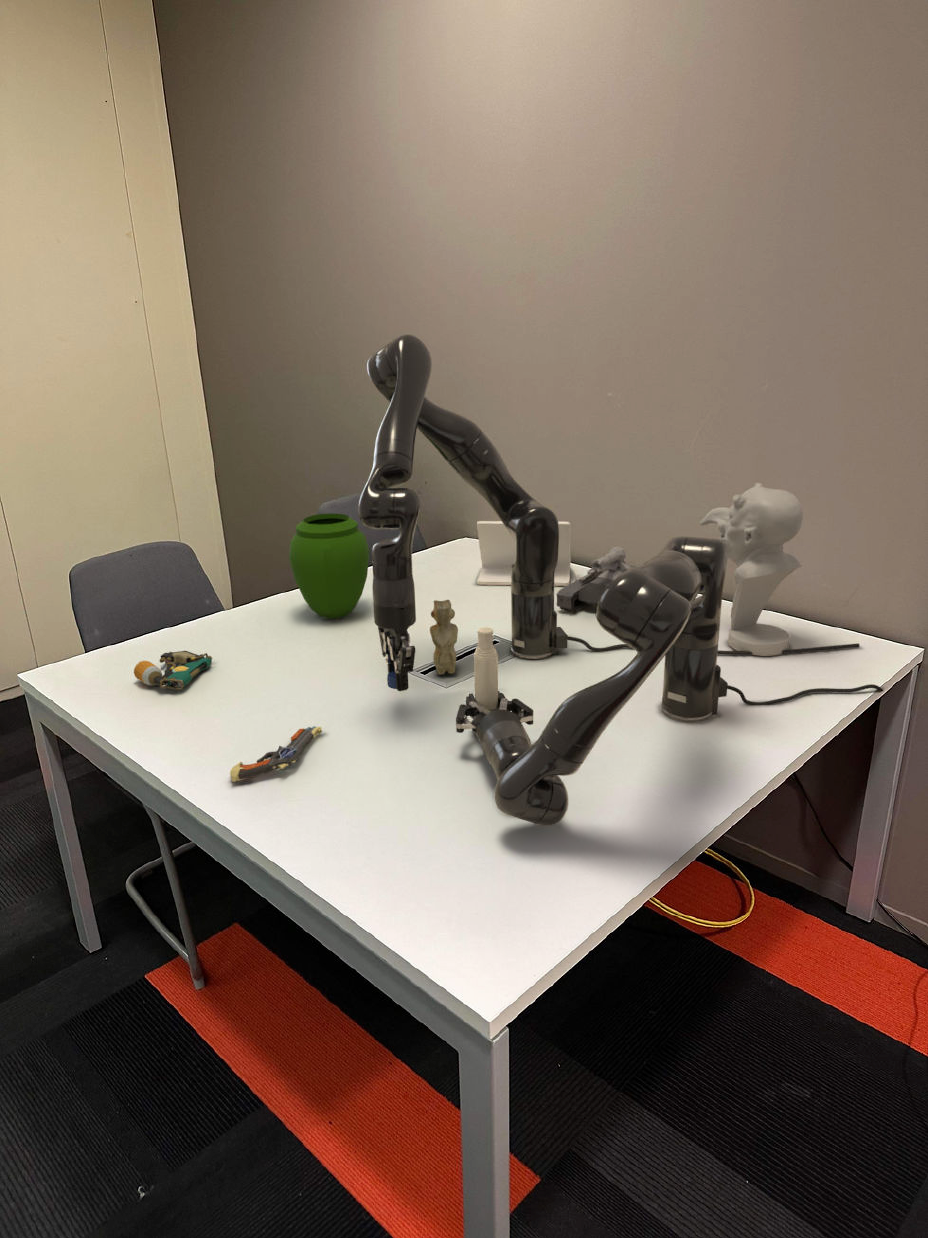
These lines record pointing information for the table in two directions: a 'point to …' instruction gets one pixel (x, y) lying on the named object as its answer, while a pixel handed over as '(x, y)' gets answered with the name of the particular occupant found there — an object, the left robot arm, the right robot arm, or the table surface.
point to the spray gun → (172, 669)
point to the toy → (593, 581)
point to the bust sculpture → (758, 561)
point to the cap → (391, 680)
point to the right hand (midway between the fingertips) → (483, 696)
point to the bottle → (486, 670)
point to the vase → (329, 563)
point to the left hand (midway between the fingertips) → (398, 685)
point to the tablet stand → (514, 554)
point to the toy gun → (277, 756)
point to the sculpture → (444, 637)
